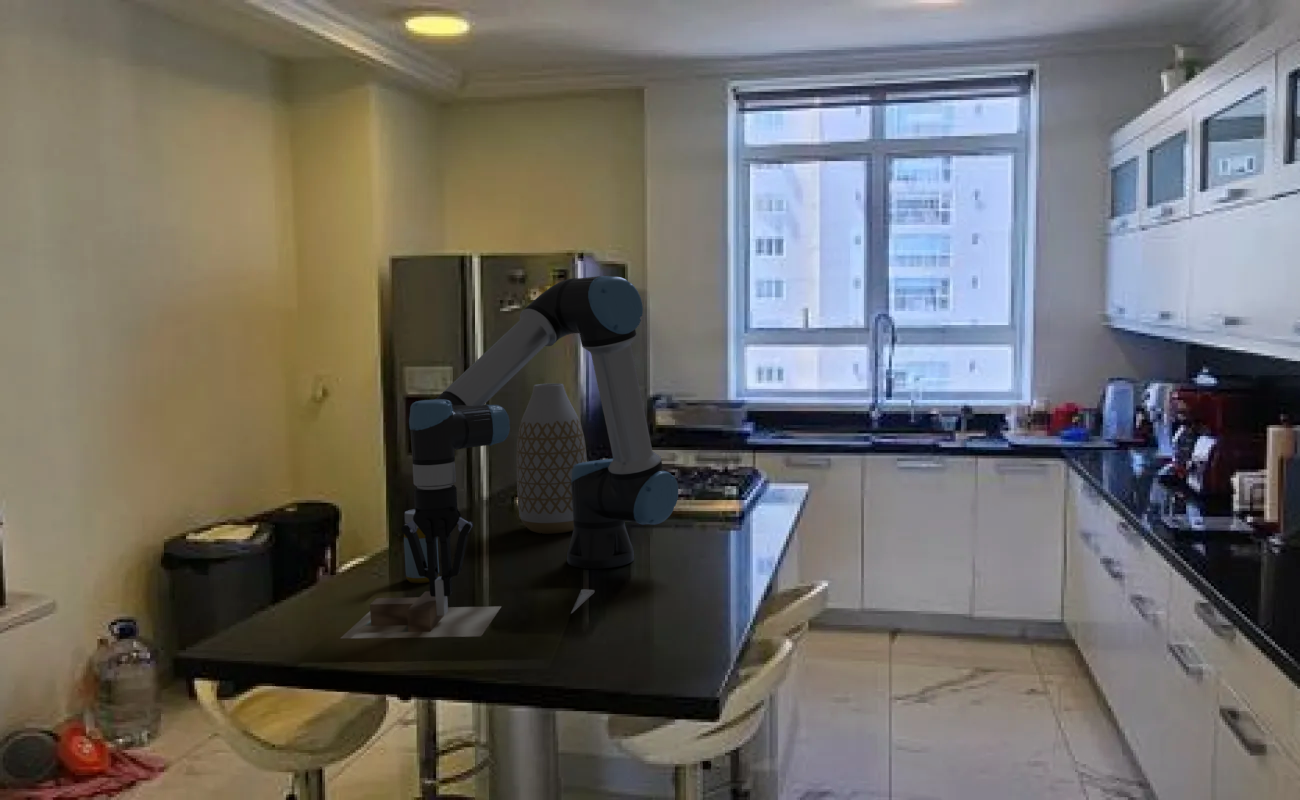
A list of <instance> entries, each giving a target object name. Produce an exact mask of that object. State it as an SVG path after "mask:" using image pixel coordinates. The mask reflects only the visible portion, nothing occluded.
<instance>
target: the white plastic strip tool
mask: <svg viewBox="0 0 1300 800" xmlns="http://www.w3.org/2000/svg"><path fill="white" fill-rule="evenodd" d="M579 591H580V592H579V594H578V596H577V599H576V601H575V603H574V605H573V608H572V610H571V612H570V614H573V613H574V612H575V611H576V610H577V609H578V608H580V606H582V604H583V603H585V602H586V601H587V600H588V599H589V598H590V597H591V596H593V594H594V593H595V589H581V590H579Z"/></svg>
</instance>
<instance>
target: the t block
mask: <svg viewBox="0 0 1300 800" xmlns="http://www.w3.org/2000/svg"><path fill="white" fill-rule="evenodd" d="M369 610H370V611H369V612H370V614H371V626H397V625H408V632H431V631H432V630H433V628H434V627H435V626H436V625H437V624H438V622H439V621H440V620H441V619H442V618H443V616H437V611H436V596H435V597H431V595H430V590H429V591H424V592H423V593H422V594H421V595H420V596H419V597H380V598H379V597H377V598H375V599H374V600H373V601H372V602H371V603H370V604H369Z"/></svg>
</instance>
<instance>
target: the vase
mask: <svg viewBox="0 0 1300 800" xmlns="http://www.w3.org/2000/svg"><path fill="white" fill-rule="evenodd" d="M517 434H518V435H517V441H516V492H517V505H518V506H517V507H518V512H519V513H518V514H519V518H520V520H521V523H523V526H525V527H526V528H527V529H528V530H529V531H531V532H533V533H535V534H536V533H537V534H541V533H542V535H544V534H545V535H546V534H547V535H552V534H553V535H554V534H565V533H570V532H573V529H574V521H573V504H572V486H571V480H572V468H573V467H574V466H575V465H576V464H578V463H583V462H588V457H587V447H586V440H585V439H586V438H585V435H584V431H583V428H582V424H581V421H580V419H579V416H578V414H577V411H576V410H575V409H574V407H573V404H572V403H571V401H570V399H569V396H568V395H567V392H566V389H565V385H564V383H540V384H539V383H538V384H534V385H533V389H532V393H531V396H530V399H529V401H528V404H527V406H526V409H525V411H524V413H523V415H522V418H521V421H520V424H519V429H518V433H517Z"/></svg>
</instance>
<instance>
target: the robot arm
mask: <svg viewBox="0 0 1300 800" xmlns="http://www.w3.org/2000/svg"><path fill="white" fill-rule="evenodd" d="M642 301H643V300H642V298H641V295H640V293H639V291H638V289H637V288H636V287H635V286H634V284H633V283H631V282H630V281H628V280H627V279H625V278H623V277H620V276H610V275H600V276H588V277H579V278H578V277H575V278H566V279H565V280H561V281H559V282H557V283H555V284H554V285H552V286H551V287H549V288H548V289H546V290H545V291H543V292H542V293H541V294H540V295H538V296H537V297H536V298H534V300H532V301H531V302H530V303H529V304H528V305H527V306H526V307H525V308H524V309H523V310H522V311H521V312H520V313H519V320H517V322H516V323H515V324H513V326H512V327H511V328H510V329H509V330H508V331H506V332H505V333H504V334H503V335H502V336H501V337H500V338H499V339H498V340H496V342H495V343H494V344H493V345H492V346H491V347H489V348H488V350H486V351H485V352H484V353H483V354H482V355H481V356H480V357H479V358H477V359H476V361H474V363H473V364H471V365H470V366H469V367H468V368H467V369H465V371H464V372H463V373H462V374H461V375H460V376H458V377H457V378H456V379H455V380H454V381H453V382H452V383H451V384H450V385H449V386H447V388H446V389H445V390H443V391H442V392H441V393H440V395H438V396H437V397H436V398H435V399H424V400H423V399H422V400H418V401H417V400H416V401H415V402H412V403H411V405H410V409H409V418H408V426H409V430H410V441H411V443H410V444H411V445H410V446H411V456H412V457H411V458H412V477H413V478H412V479H413V485H414V486H415V488H414V491H413V493H414V494H413V495H414V497H413V498H414V509H415V514H414V516H413V520H412V521H411V522H409V523H407V524H405V523H404V525H402V527H400V528H401V529H400V530H401V531H402V533H403V535H404V534H405V536H406V537H407V538H408V542H409V545H410V548H411V551H412V555H413V558H414V561H415V564H416V568H417V571H418V574H419V576H421V577H423V576H424V577H426V578H428V579H429V582H428V583H429V591H430V595H431V597H435V596H436V611H437V616H444V615H445V614H446V613H447V612H448V607H449V606H448V605H449V604H448V602H449V601H448V597H450V596H451V595H452V593H453V582H452V581H453V577H456V576H458V575H459V574H460V573H461V572H462V568H463V563H464V557H465V552H466V549H467V543H468V538H469V537H468V536H469V533H470V532H471V530H472V529H473V527H474V523H473V521H472V520H471V521H468V520H466V519H464V518H463V517H462V516H461V512H460V510H459V509H458V495H457V494H458V491H457V486H456V485H455V484H454V483H456V481H457V473H456V457H455V456H456V452H455V451H456V450H461V449H469V448H470V449H471V448H476V447H485V446H489V447H491V446H493V445H496V444H501V443H503V442H504V441H505V440H506V439H507V438H508V436H509V434H510V430H511V426H510V417H509V414H508V413H507V411H506V409H505V408H504V407H503V406H502V405H500V404H487V403H488V401H490V400H491V399H492V398H493V397H494V396H495V395H496V394H497V393H498V392H499V391H500V390H501V389H502V388H503V387H504V386H505V385H506V384H507V383H508V382H509V381H510V380H512V378H513V377H514V376H515V375H517V374H518V373H519V371H521V369H523V368H524V367H525V366H526V365H527V364H528V363H529V362H530V361H531V360H532V359H533V358H534V357H535V356H536V355H538V353H539V352H540V351H542V350H543V349H544V347H551V346H553V345H555V344H556V343H557V341H559V340H560V339H561V338H564V337H566V336H569V335H572V334H579V338H580V342H581V343H580V344H581V347H582V348H583V349H585V350H586V351H587V352H589V353H590V355H591V359H592V360H591V361H592V364H593V370H594V374H595V379H596V382H597V384H596V385H597V388H598V392H599V393H598V394H599V398H600V403H601V406H602V407H601V408H602V412H603V415H604V421H605V425H606V430H607V436H608V439H609V440H608V441H609V445H610V450H611V456H612V458H605V459H598V460H589V461H587V462H583V463H578V464H576V465H575V466H574V467H573V468H572V480H571V486H572V504H573V521H574V529H573V531H572V534H571V537H570V540H569V541H570V542H569V545H568V547H567V553H566V556H567V557H566V560H567V561H566V562H567V564H568V565H570V566H571V567H574V568H581V569H595V570H597V569H611V568H617V567H623V566H626V565H628V564H630V563H633V562H634V561H635V555H634V554H635V552H634V547H633V545H632V542H631V540H630V537H629V534H628V530H627V528H626V522H631V523H637V524H640V525H652V526H653V525H658V524H661V523H663V522H665V521H666V520H667V519H668V518H670V516H671V515H672V513H674V512H673V511H674V509H675V507H676V505H677V504H678V503H677V502H678V499H679V484H678V481H677V478H676V477H675V476H674V475H672V473H671V472H669V471H666V470H664V467H663V461H662V458H661V456H660V455H659V454H657V453H656V452H654V451H653V447H652V442H651V437H650V432H649V431H650V430H649V427H648V423H647V418H646V413H645V407H644V402H643V398H642V393H641V387H640V384H639V383H640V382H639V379H638V378H639V377H638V373H637V368H636V363H635V362H636V361H635V358H634V352H633V348H632V344H633V343H634V341H635V339H636V338H637V330H636V329H637V328H638V327H639V325H640V323H641V321H642V320H641V317H643V313H644V312H643V311H644V307H643V302H642ZM625 521H626V522H625ZM416 525H417V526H418V527H419V529H420V530H421V531H422V532H423V534H424V535H425V541H426V545H427V562H428V567H427V563H426V560H425V557H424V554H423V550H422V547H421V544H420V541H419V537H418V534H417V532H416V531H417V527H416ZM457 525H458V528H457V530H458V532H459V535H458V537H457V542H456V547H455V548H456V549H455V552H454V559H453V565H452V551H451V550H452V548H451V547H452V546H451V537H452V536H451V534H452V532H453V531H454V530H455V528H456V526H457ZM436 540H437V542H438V540H439V545H440V560H441V562H440V563H441V575H442V576H439V577H438V574H439V575H440V571H439V572H438V561H439V559H438V560H437V542H436Z"/></svg>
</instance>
